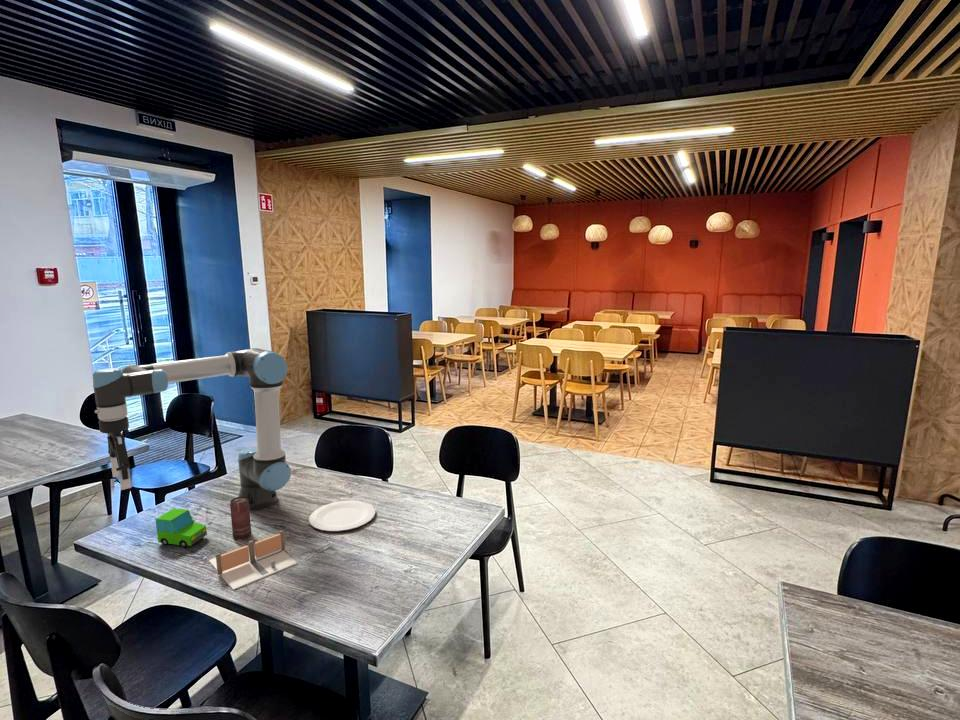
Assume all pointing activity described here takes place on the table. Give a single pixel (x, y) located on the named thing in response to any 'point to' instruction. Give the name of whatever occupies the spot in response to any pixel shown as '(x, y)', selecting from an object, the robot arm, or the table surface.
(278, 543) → the fixed panel
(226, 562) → the panel
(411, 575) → the table surface
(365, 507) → the plate
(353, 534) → the table surface
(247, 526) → the can
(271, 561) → the card
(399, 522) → the table surface
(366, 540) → the table surface
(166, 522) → the toy car
